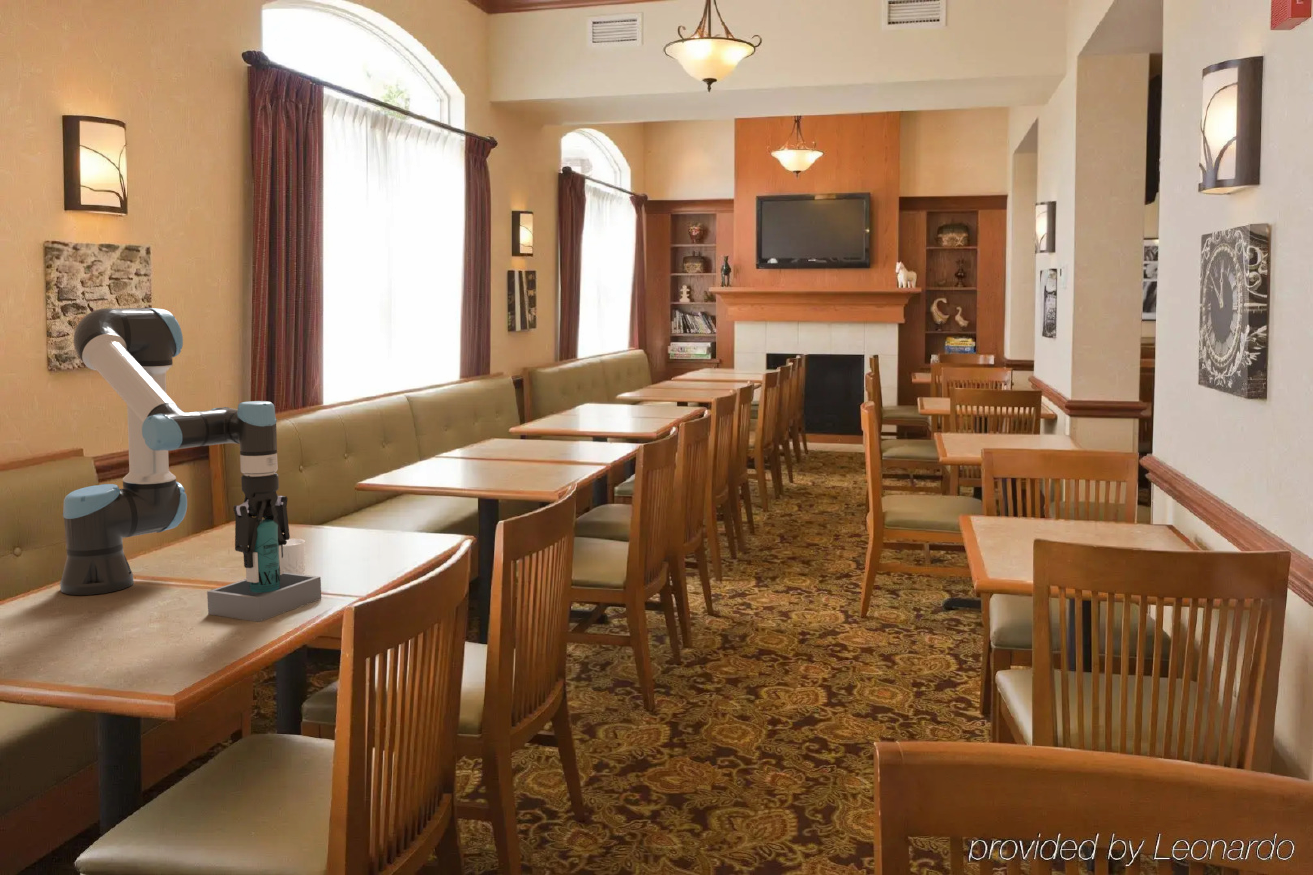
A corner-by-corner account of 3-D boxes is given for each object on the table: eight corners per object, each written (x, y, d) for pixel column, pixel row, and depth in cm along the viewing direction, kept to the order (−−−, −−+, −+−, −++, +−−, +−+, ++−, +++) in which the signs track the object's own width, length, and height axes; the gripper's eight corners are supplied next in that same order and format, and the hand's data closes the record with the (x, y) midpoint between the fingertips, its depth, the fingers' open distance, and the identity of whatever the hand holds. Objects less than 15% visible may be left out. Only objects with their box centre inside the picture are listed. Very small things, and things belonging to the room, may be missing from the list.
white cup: (312, 579, 255) (310, 538, 253) (298, 588, 247) (296, 546, 246) (280, 578, 255) (278, 538, 254) (265, 587, 248) (263, 545, 246)
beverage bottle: (242, 597, 230) (238, 507, 227) (264, 590, 236) (259, 501, 234) (267, 600, 228) (263, 509, 225) (288, 593, 234) (284, 503, 231)
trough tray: (208, 614, 226) (207, 591, 226) (272, 592, 244) (271, 570, 243) (259, 621, 221) (257, 598, 220) (321, 598, 238) (320, 576, 237)
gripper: (239, 481, 218) (244, 590, 221) (304, 468, 236) (309, 569, 239) (211, 479, 221) (217, 586, 224) (278, 466, 239) (283, 566, 242)
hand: (264, 577), depth 231 cm, fingers closed on beverage bottle, 6 cm apart
